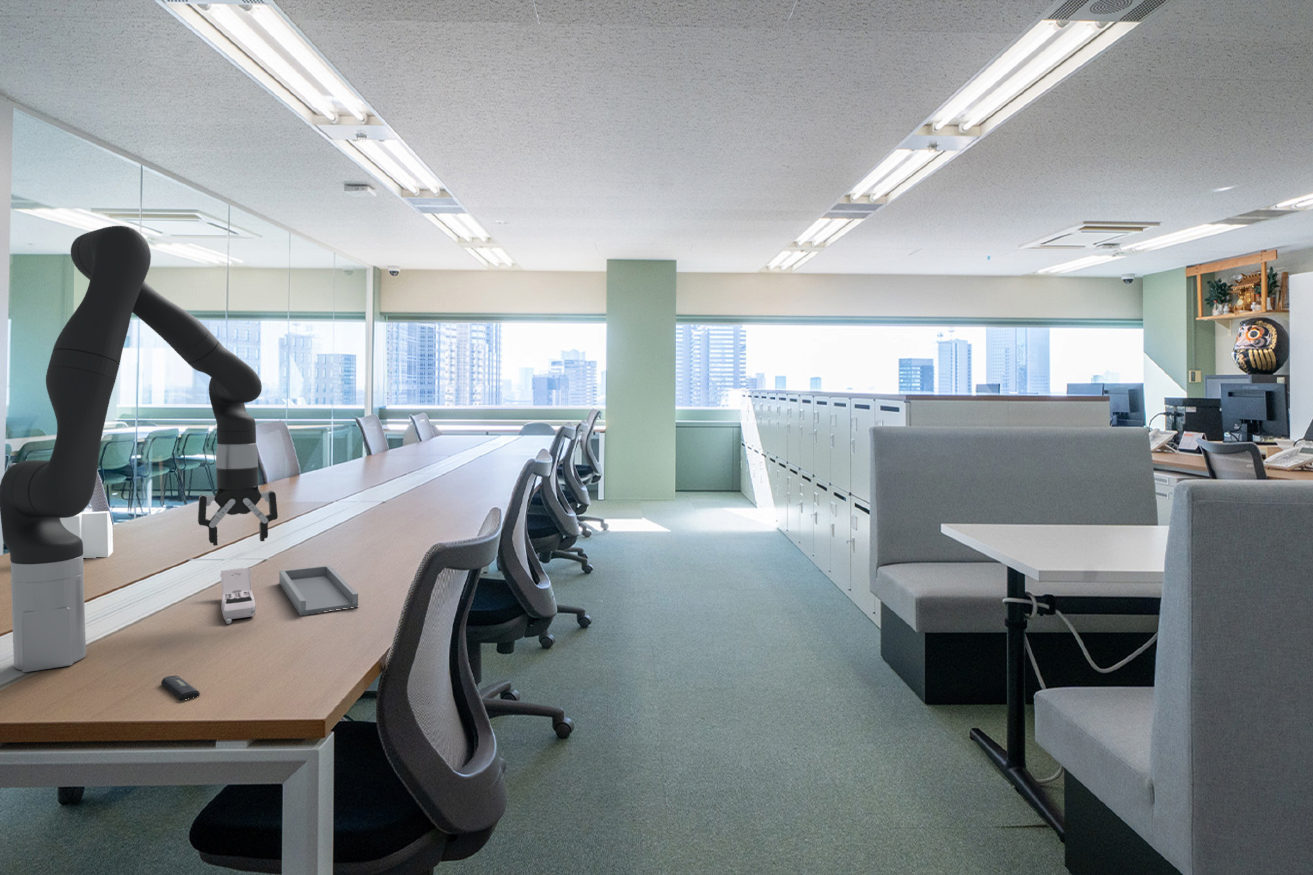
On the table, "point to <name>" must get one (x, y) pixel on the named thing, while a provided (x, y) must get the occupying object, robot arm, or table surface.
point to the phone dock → (317, 589)
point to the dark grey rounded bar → (179, 687)
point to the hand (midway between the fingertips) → (239, 542)
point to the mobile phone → (237, 594)
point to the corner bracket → (92, 532)
